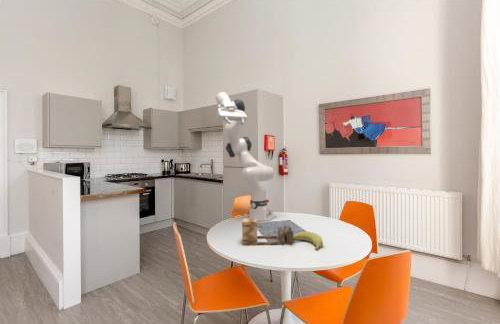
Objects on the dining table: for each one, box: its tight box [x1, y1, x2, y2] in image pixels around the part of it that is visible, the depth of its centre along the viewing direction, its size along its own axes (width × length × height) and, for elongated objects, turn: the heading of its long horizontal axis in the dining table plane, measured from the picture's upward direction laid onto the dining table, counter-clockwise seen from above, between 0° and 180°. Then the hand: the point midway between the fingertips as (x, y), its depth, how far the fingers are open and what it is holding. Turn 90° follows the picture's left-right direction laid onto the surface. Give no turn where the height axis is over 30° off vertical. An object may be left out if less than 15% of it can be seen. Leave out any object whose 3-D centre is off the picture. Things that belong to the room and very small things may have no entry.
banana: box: [293, 231, 324, 252], centre depth 142 cm, size 14×6×20 cm
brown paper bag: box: [241, 217, 258, 243], centre depth 146 cm, size 8×8×12 cm
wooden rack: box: [241, 225, 294, 246], centre depth 146 cm, size 28×12×10 cm, turn 91°
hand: (236, 123), depth 164 cm, fingers open, 8 cm apart
